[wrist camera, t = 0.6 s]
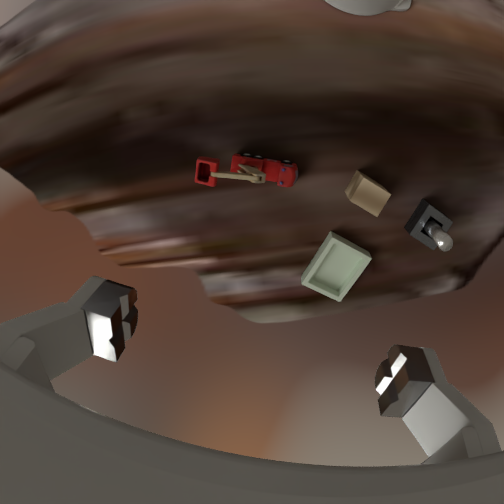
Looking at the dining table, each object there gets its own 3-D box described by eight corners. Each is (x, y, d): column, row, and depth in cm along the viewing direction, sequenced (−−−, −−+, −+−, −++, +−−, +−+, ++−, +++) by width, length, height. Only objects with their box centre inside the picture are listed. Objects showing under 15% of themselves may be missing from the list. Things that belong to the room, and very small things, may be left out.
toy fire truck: (295, 182, 48) (296, 201, 40) (210, 168, 49) (192, 183, 40) (299, 162, 46) (301, 176, 38) (212, 148, 47) (194, 159, 38)
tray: (330, 231, 51) (332, 237, 49) (368, 251, 52) (371, 258, 49) (301, 276, 55) (301, 283, 53) (338, 294, 56) (339, 302, 54)
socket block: (422, 198, 46) (429, 204, 43) (445, 215, 47) (453, 222, 44) (404, 227, 49) (409, 234, 46) (427, 242, 49) (433, 250, 47)
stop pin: (424, 212, 47) (445, 234, 39) (433, 219, 47) (455, 241, 39) (417, 223, 48) (436, 246, 40) (426, 230, 48) (446, 253, 40)
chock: (356, 170, 46) (363, 177, 41) (382, 185, 46) (391, 194, 42) (344, 191, 48) (349, 200, 43) (369, 205, 48) (377, 216, 44)
